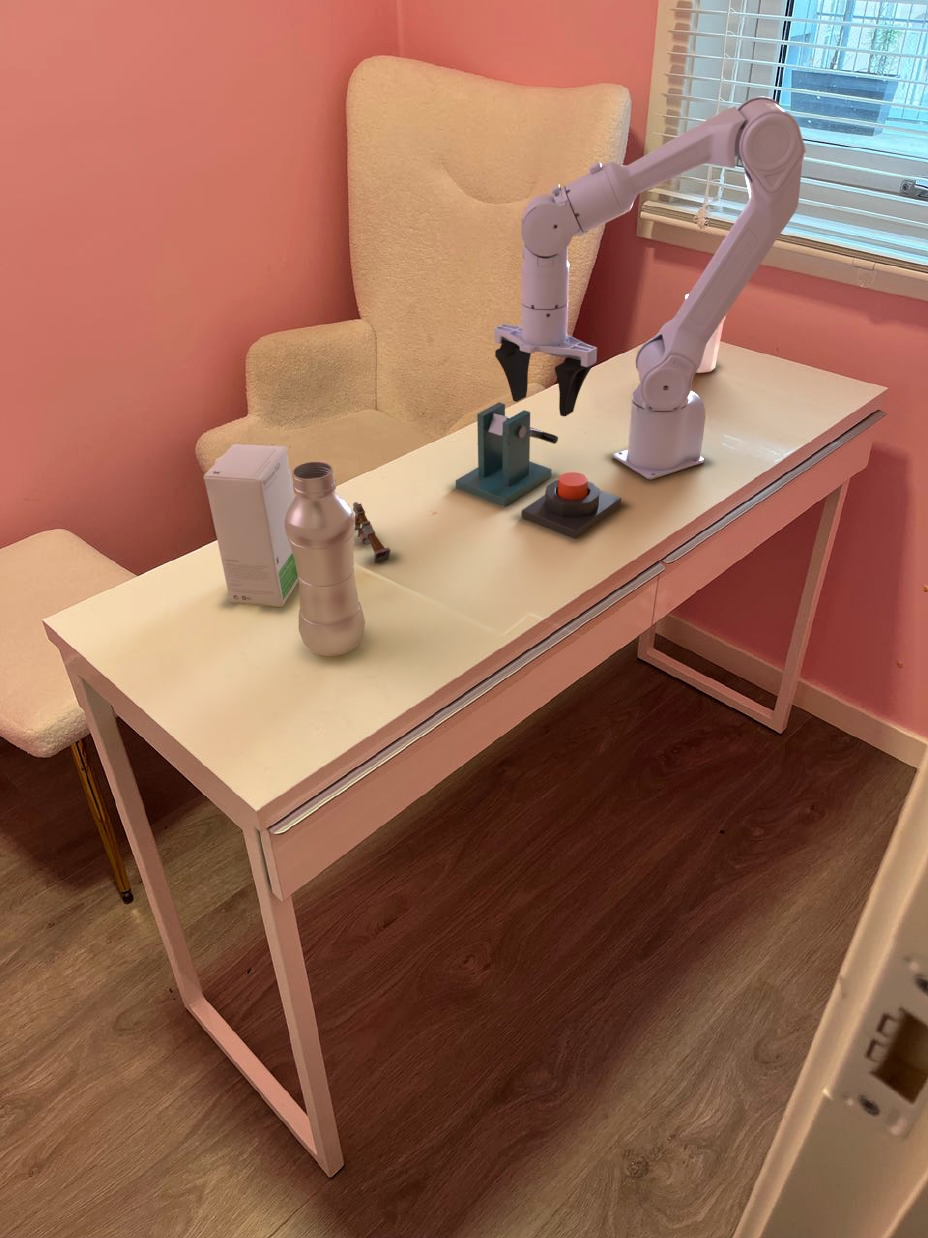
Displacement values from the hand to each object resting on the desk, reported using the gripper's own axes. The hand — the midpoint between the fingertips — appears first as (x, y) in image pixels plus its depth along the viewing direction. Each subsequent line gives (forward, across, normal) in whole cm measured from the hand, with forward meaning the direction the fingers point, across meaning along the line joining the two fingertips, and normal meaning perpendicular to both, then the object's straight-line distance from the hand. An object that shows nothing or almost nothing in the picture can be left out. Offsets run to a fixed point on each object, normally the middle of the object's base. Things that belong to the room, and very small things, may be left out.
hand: (542, 406), depth 127 cm
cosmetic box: (+8, -6, -43) cm, 44 cm away
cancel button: (+5, +11, -9) cm, 15 cm away
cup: (+8, +1, +42) cm, 42 cm away
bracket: (+8, 0, -8) cm, 11 cm away
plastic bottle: (+8, +7, -46) cm, 47 cm away
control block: (+8, +11, -9) cm, 16 cm away
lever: (+3, 0, -5) cm, 6 cm away
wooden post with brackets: (+8, -3, -30) cm, 32 cm away
